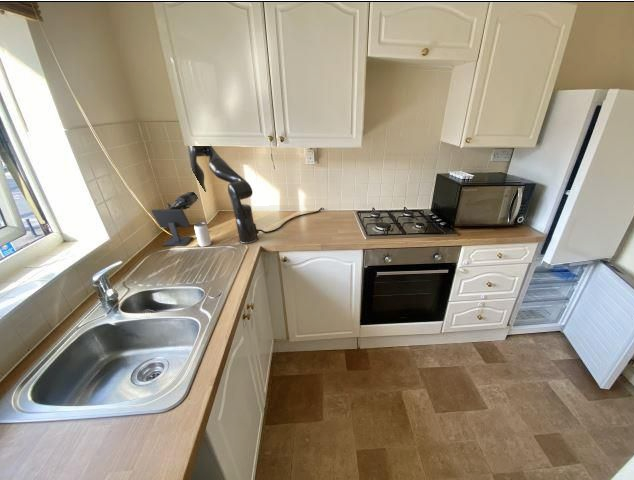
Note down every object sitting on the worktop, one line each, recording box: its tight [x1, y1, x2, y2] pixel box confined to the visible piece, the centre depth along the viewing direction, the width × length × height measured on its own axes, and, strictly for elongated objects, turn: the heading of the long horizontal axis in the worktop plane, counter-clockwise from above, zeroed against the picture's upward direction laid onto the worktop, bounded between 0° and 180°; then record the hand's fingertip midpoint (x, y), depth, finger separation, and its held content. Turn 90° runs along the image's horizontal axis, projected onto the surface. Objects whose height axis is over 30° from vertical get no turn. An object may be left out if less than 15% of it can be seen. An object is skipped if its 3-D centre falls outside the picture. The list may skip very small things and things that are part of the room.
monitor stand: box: [162, 222, 194, 247], centre depth 156 cm, size 10×12×12 cm
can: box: [193, 221, 212, 248], centre depth 154 cm, size 6×6×12 cm
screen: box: [150, 208, 191, 228], centre depth 152 cm, size 1×16×11 cm, turn 92°
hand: (170, 210), depth 152 cm, fingers closed
